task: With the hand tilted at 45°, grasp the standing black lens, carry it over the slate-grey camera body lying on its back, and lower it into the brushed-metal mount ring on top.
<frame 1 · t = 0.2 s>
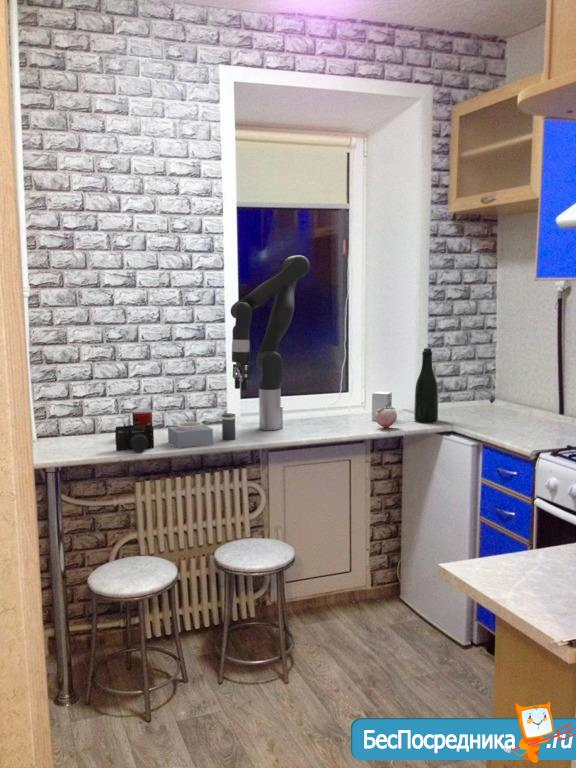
hand: (240, 389, 281), 18 cm above the worktop, tool pointing down, fingers open, 8 cm apart
camera: (135, 451, 250), on the worktop
lens: (228, 439, 269), on the worktop
supplement box: (381, 420, 308), on the worktop
beer bottle: (426, 421, 303), on the worktop
decorative fruit: (385, 428, 288), on the worktop
camera body: (190, 443, 261), on the worktop
canned food: (143, 437, 274), on the worktop
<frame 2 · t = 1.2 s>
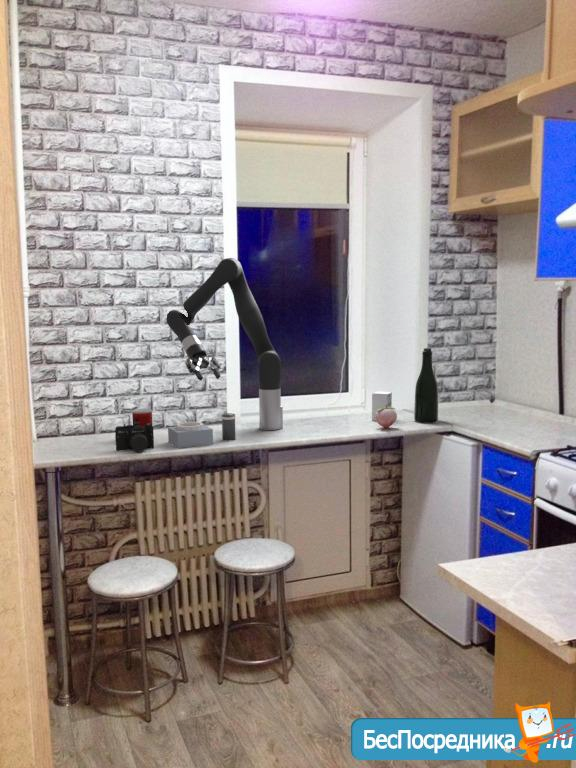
hand: (210, 378, 274), 23 cm above the worktop, tool tilted 45°, fingers open, 8 cm apart
nothing on the worktop moved.
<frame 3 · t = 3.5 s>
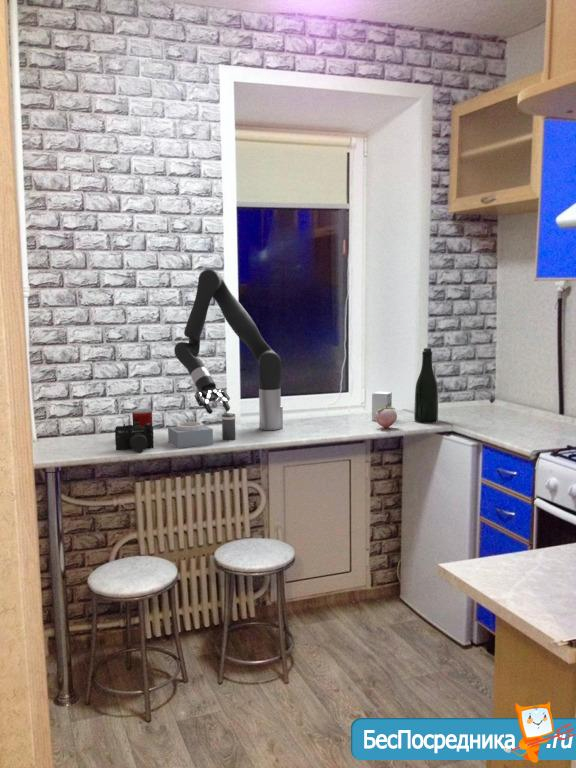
hand: (219, 411, 271), 11 cm above the worktop, tool tilted 45°, fingers open, 8 cm apart
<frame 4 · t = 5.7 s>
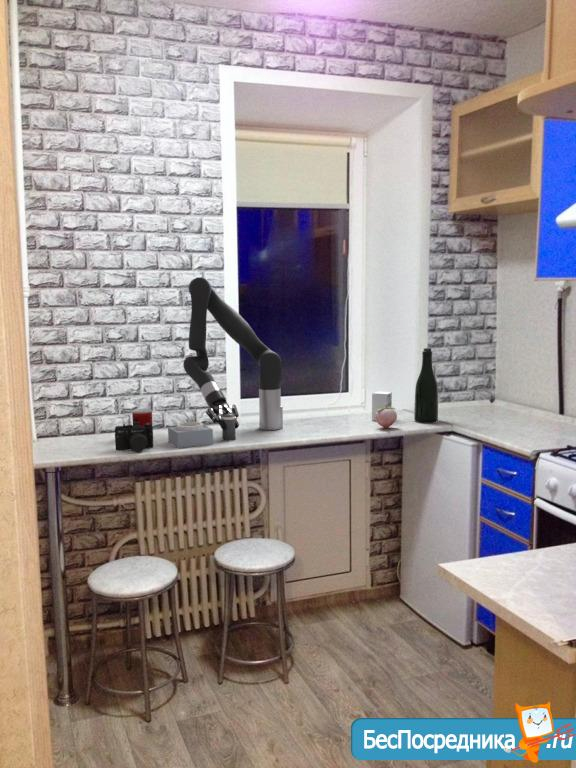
hand: (231, 428, 267), 5 cm above the worktop, tool tilted 45°, fingers closed on lens, 5 cm apart
lens: (229, 439, 269), on the worktop, touching gripper
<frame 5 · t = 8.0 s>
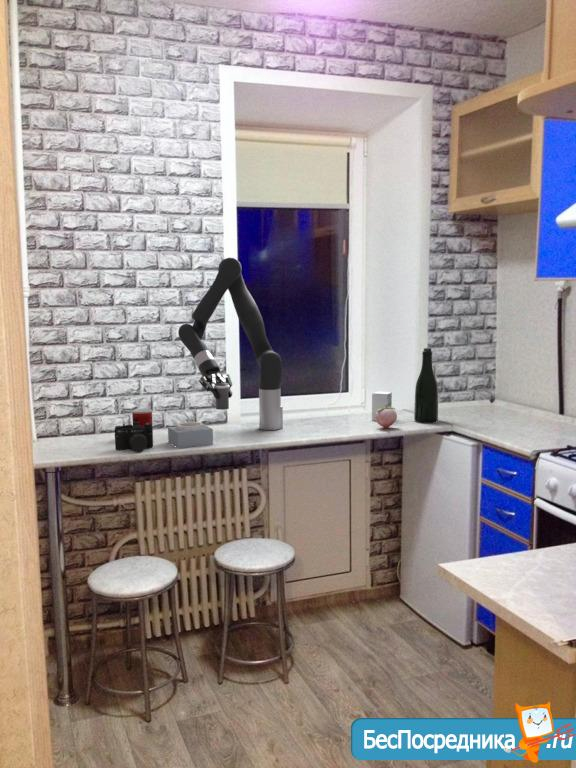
hand: (224, 397, 264), 17 cm above the worktop, tool tilted 45°, fingers closed on lens, 5 cm apart
lens: (222, 408, 266), point 13 cm above the worktop, touching gripper
when the fingers open (12 cm above the worktop, at t = 10.6 s): lens stays where it is, resting on camera body.
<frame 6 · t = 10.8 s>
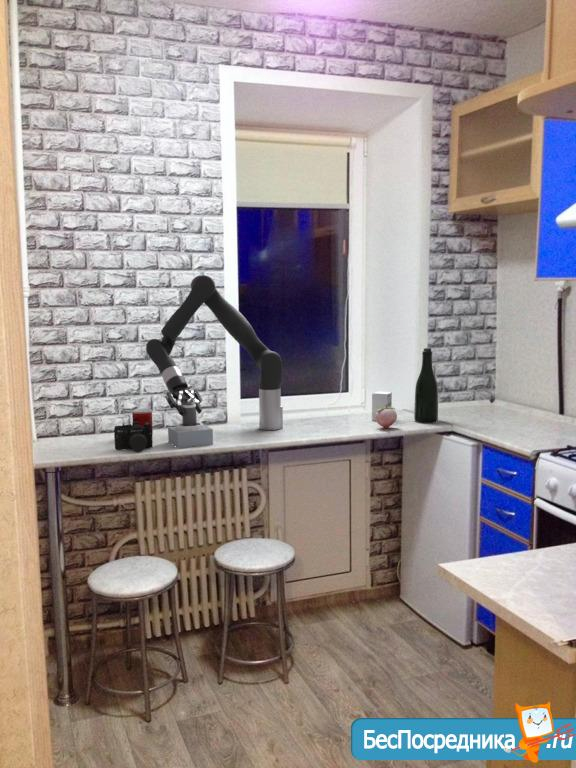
hand: (191, 413, 259), 12 cm above the worktop, tool tilted 45°, fingers open, 7 cm apart
lens: (189, 428, 261), point 6 cm above the worktop, touching camera body
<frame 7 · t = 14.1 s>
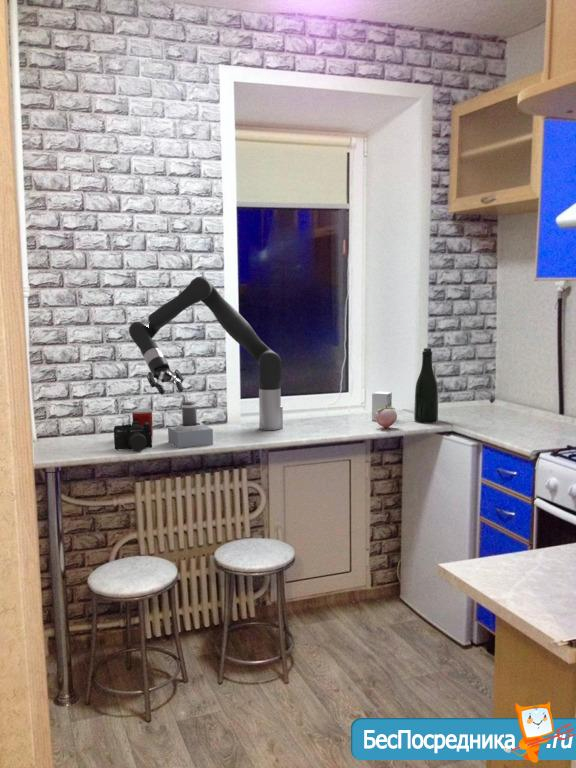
hand: (172, 392, 268), 19 cm above the worktop, tool tilted 45°, fingers open, 8 cm apart
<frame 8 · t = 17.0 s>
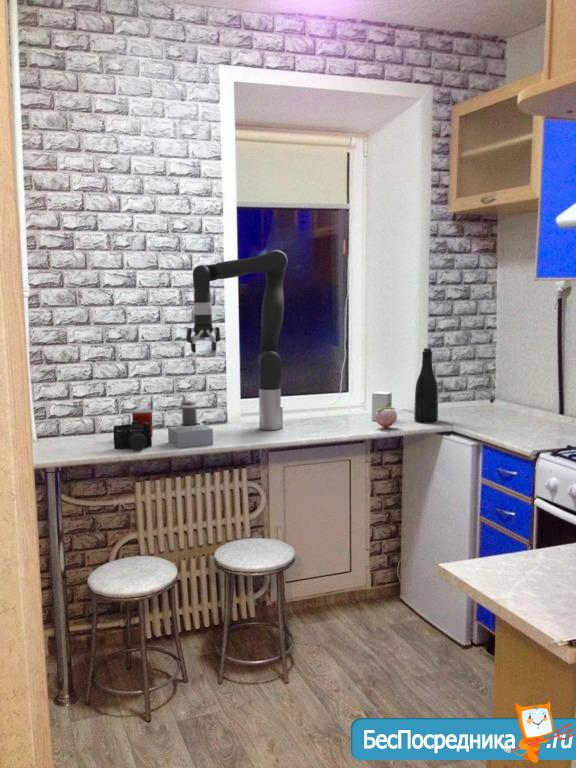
hand: (203, 352, 285), 33 cm above the worktop, tool pointing down, fingers open, 8 cm apart
at the end: lens 0.2 cm off-centre on the camera body, point 6.0 cm above the camera body's base; lens tilted 0°; the gripper is holding nothing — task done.
